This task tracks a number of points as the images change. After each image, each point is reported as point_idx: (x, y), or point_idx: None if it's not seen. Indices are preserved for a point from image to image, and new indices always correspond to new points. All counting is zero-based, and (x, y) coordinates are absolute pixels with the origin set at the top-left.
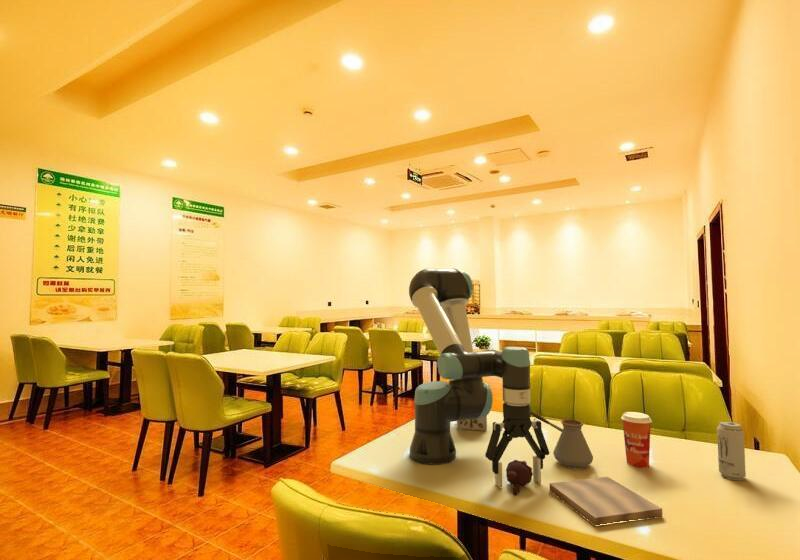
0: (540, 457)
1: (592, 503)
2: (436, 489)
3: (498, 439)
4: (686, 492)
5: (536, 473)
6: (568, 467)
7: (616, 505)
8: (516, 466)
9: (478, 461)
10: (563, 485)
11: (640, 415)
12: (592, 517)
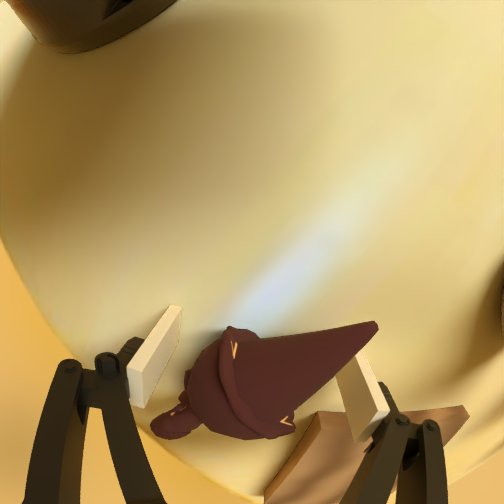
0: (368, 446)
1: (310, 489)
2: (9, 241)
3: (77, 497)
4: (488, 433)
5: (346, 381)
6: (502, 303)
7: (342, 494)
8: (214, 431)
9: (254, 52)
10: (343, 443)
11: None
12: (265, 499)
